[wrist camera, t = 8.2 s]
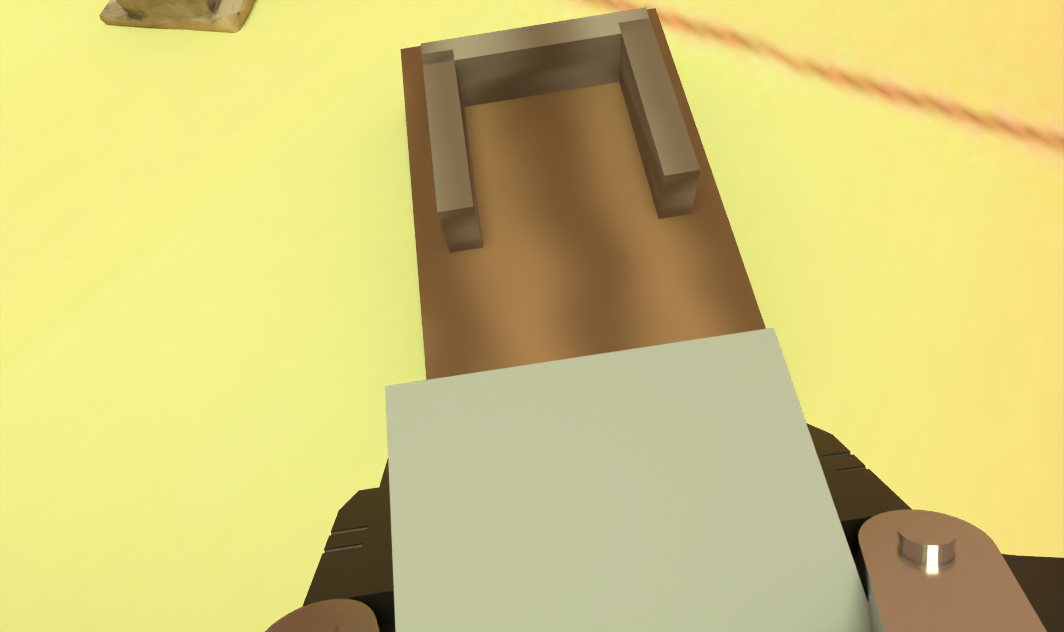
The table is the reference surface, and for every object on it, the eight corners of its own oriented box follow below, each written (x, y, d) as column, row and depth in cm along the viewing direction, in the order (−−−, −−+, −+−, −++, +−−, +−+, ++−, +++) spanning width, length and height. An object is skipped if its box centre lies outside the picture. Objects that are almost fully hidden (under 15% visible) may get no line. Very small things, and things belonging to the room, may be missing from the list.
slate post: (512, 773, 16) (405, 875, 6) (490, 561, 18) (384, 386, 8) (715, 741, 16) (932, 791, 6) (668, 533, 18) (773, 327, 8)
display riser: (448, 461, 32) (414, 402, 26) (416, 103, 42) (386, 1, 36) (760, 410, 32) (800, 339, 26) (650, 66, 42) (659, -43, 36)
